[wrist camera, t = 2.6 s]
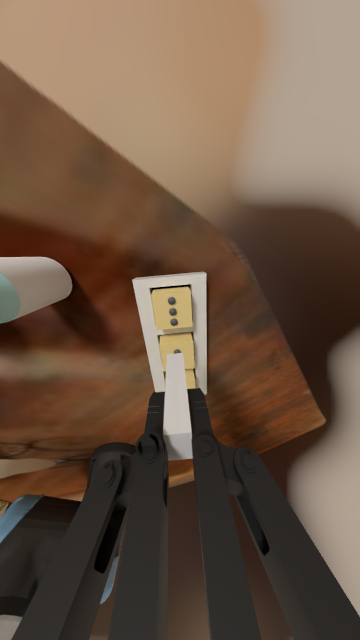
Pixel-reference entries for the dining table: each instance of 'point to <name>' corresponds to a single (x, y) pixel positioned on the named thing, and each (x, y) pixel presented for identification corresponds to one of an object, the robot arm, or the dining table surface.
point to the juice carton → (3, 507)
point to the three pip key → (172, 308)
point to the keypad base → (152, 334)
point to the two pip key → (177, 348)
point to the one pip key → (189, 379)
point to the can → (30, 285)
